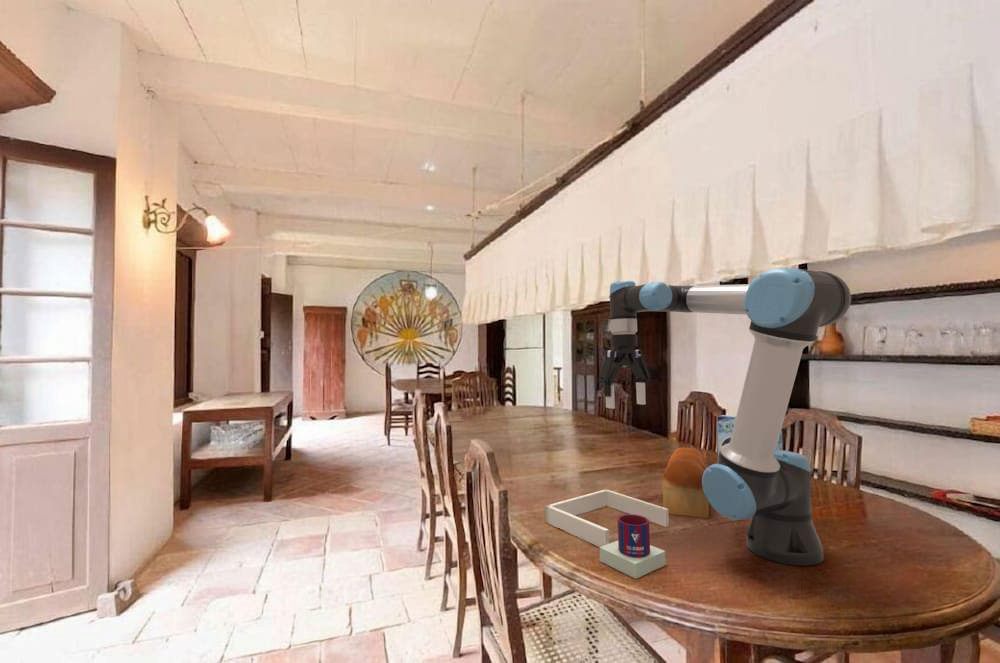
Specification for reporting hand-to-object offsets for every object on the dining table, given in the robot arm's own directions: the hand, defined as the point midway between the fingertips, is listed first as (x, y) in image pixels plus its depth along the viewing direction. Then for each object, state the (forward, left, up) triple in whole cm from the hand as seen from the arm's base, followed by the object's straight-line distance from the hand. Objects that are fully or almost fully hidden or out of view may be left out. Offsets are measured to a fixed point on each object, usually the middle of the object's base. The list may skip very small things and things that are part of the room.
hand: (626, 406), depth 133 cm
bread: (-5, -21, -31) cm, 38 cm away
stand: (-21, +24, -31) cm, 45 cm away
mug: (-21, +24, -28) cm, 42 cm away
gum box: (-8, -53, -31) cm, 62 cm away
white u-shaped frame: (-2, +12, -31) cm, 33 cm away
